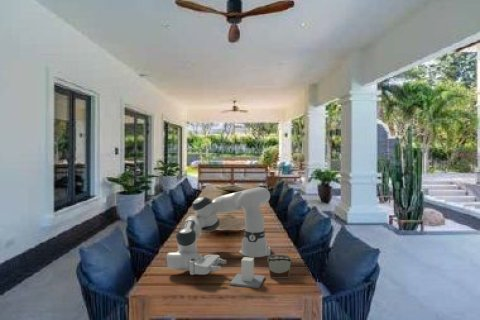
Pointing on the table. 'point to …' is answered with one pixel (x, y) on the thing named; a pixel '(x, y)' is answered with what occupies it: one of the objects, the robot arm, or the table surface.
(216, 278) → the table surface
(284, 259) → the food container
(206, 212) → the robot arm
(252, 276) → the tall white pillar
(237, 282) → the post stand
